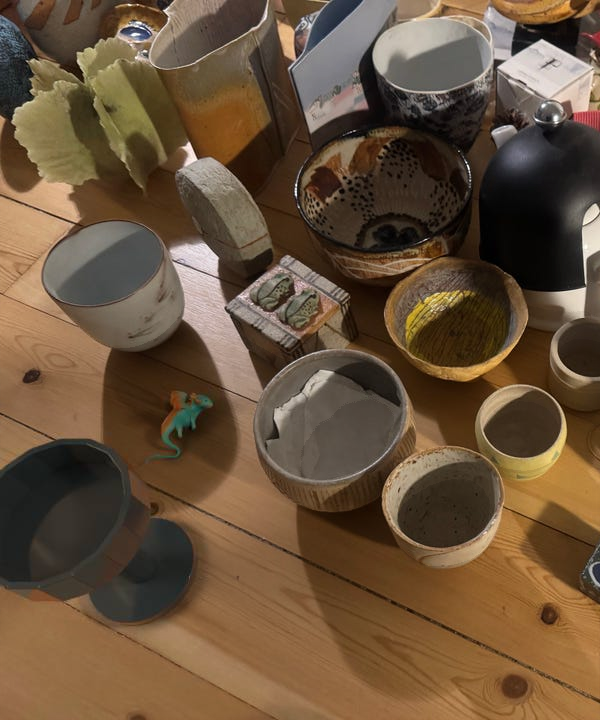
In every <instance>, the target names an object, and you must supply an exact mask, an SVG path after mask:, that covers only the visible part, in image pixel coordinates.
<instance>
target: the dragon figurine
mask: <svg viewBox="0 0 600 720" xmlns="http://www.w3.org/2000/svg"><path fill="white" fill-rule="evenodd" d="M170 392H171V393H170V406H171V407H172V408H173V409H172V410H171V411H170V412H169V413H168V415H167V417H165V419H164V421H163V422H162V424H161V429H160V435H161V438H162V442H164V443H165V445H167V446H168V447H170V448H172V449H174V450H176V451H177V453H176V454H175V455H163V454H155V455H152V456H150V457H149V458H148V459H147V460H146V462H145V465H147V464H148V462H150V460H152V459H154V458H165V459H175V458H178V457H179V456H180V454H181V449H180V448H179V447H178V446H177V445H175V444H174V443H173V442H172V441H171V440H170V438H169V436H170V435H171V433H172V432H173V431H174V430H176V432H177V437H178V438H180V439H181V438H182V437H183V434H182V433H183V428H184V429H186V428H190V427H191V430H195V429H196V427H197V426H196V420H197V418H198V415H200V414H201V413H202V412H203V411H205V410H210V409H211V408H212V407H213V406H214V404H213V401H212V400H211V398H210V397H208V396H206V395H204V394H196V393H195V392H192V393H191V394H189V397H188V398H189V401H190V402H187V403H186V400H187V396H188V394H187V393H186V392H184V391H180V390H171V391H170Z"/></svg>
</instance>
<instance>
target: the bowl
mask: <svg viewBox="0 0 600 720" xmlns="http://www.w3.org/2000/svg"><path fill="white" fill-rule="evenodd" d="M151 513H152V506H151V500H150V493H149V486H148V484H147V483H146V481H145V480H144V479H143V477H142V476H141V475H140V474H139V472H138V471H137V470H136V468H135V467H134V466H133V465H132V464H131V463H130V462H129V461H128V460H126V458H124V456H122V455H121V454H120V453H119V452H118V451H116V449H114V447H111V446H108V445H106V444H104V443H102V442H99V441H97V440H94V439H93V438H90V437H89V438H88V437H86V438H83V437H82V438H78V437H76V438H75V437H73V438H68V437H67V438H66V437H65V438H63V437H62V438H61V437H60V438H57V439H55V440H51V441H49V442H46V443H42V444H39V445H37V446H34V447H31V448H29V449H27V450H26V451H24V452H23V453H22V454H20V455H18V456H17V457H16V458H15V459H13V460H12V461H10V462H8V463H7V464H6V465H4V466H3V467H2V468H1V469H0V587H1V588H2V589H4V590H6V591H9V592H11V593H14V594H16V595H19V596H20V597H23V598H25V599H28V600H30V601H32V602H67V601H71V600H73V599H76V598H80V597H82V596H86V595H88V598H89V601H90V603H91V605H92V607H93V608H94V609H95V611H96V612H97V613H98V614H99V615H101V616H102V617H103V618H105V619H107V620H108V621H111V622H114V623H116V624H119V625H122V626H141V625H146V624H149V623H152V622H154V621H157V620H158V619H161V618H162V617H164V616H165V615H167V614H168V613H170V612H171V611H173V610H174V609H175V608H176V607H177V606H178V605H179V604H180V603H181V602H182V601H183V599H184V598H185V597H186V595H188V593H189V591H190V589H191V587H192V585H193V583H194V581H195V578H196V574H197V570H198V563H199V562H198V561H199V559H198V558H199V557H198V551H197V546H196V544H195V541H194V539H193V538H192V536H191V535H190V534H189V533H188V532H187V531H186V530H185V528H183V527H182V526H180V525H179V524H178V523H176V522H174V521H173V520H169V519H167V518H163V517H162V518H161V517H151Z"/></svg>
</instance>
